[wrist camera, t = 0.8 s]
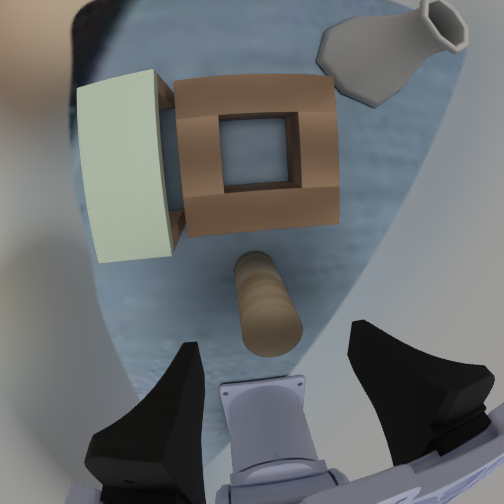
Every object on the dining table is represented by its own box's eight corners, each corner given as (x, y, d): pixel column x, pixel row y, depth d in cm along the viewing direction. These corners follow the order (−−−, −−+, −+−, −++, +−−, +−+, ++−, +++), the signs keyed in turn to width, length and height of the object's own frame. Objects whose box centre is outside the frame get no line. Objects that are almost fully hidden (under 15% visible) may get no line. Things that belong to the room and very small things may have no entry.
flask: (345, 6, 15) (413, -54, 6) (413, 64, 17) (502, 41, 8) (297, 63, 17) (360, 4, 7) (376, 125, 19) (473, 121, 9)
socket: (320, 211, 20) (339, 223, 17) (193, 222, 20) (187, 237, 17) (315, 87, 17) (333, 76, 14) (181, 92, 17) (173, 81, 13)
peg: (275, 286, 22) (301, 352, 15) (236, 290, 22) (245, 360, 14) (274, 249, 21) (303, 304, 14) (232, 253, 21) (239, 312, 13)
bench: (186, 223, 20) (171, 255, 14) (132, 229, 19) (98, 263, 13) (174, 93, 17) (153, 69, 11) (118, 104, 16) (76, 88, 10)
